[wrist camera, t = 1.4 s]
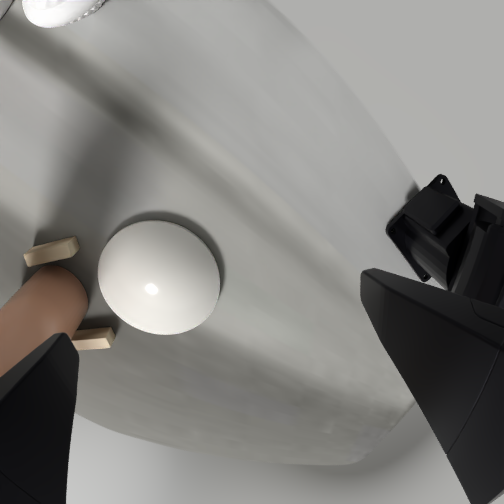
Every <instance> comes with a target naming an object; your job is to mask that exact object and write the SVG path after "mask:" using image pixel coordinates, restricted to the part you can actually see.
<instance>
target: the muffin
mask: <svg viewBox="0 0 504 504" xmlns="http://www.w3.org/2000/svg"><path fill="white" fill-rule="evenodd" d="M103 2H105V0H22V4H23V9H24V13H25V15H26V17H27V18H28V20H29V21H31V22H32V23H33V24H35V25H37V26H40V27H46V28H53V27H59V26H62V25H64V26H65V25H67V24H70V23H74V22H76V21H78V20H81V19H83V18H85V17H87V16H89V15H91V14H92V13H95V11H96V10H98V9H99V7H101V6H102V3H103Z"/></svg>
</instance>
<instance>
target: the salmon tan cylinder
mask: <svg viewBox="0 0 504 504" xmlns="http://www.w3.org/2000/svg"><path fill="white" fill-rule="evenodd" d="M87 310H88V298H87V294H86V291H85V289H84V287H83V285H82V284H81V282H80V281H79V280H78V279H77V278H76V277H75V276H74V275H73V274H72V273H71V272H70V271H68V270H66V269H64V268H62V267H60V266H56V265H47V266H44V267H42V268H40V269H39V270H38V271H37V272H36V273H35V274H34V275H33V276H32V277H31V278H30V279H29V280H28V281H27V282H26V283H25V284H24V285H23V286H22V287H21V288H20V289H19V290H18V291H17V292H16V293H15V294H14V295H13V296H12V297H11V298H10V299H9V300H8V301H7V302H6V304H5V305H4V306H3V307H2V308H1V309H0V377H1V376H2V375H4V374H5V373H6V372H7V371H8V370H10V369H11V368H12V367H13V366H14V365H16V364H17V363H18V362H19V361H21V360H22V359H23V358H24V357H25V356H27V355H28V354H29V353H30V352H32V351H33V350H34V349H35V348H37V347H38V346H39V345H40V344H42V343H43V342H44V341H45V340H47V339H48V338H49V337H51V336H52V335H53V334H55V333H61V332H65V333H67V334H68V336H69V337H70V339H71V338H72V337H73V335H74V333H75V332H76V330H77V328H78V327H79V325H80V323H81V322H82V320H83V318H84V317H85V315H86V313H87Z"/></svg>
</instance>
